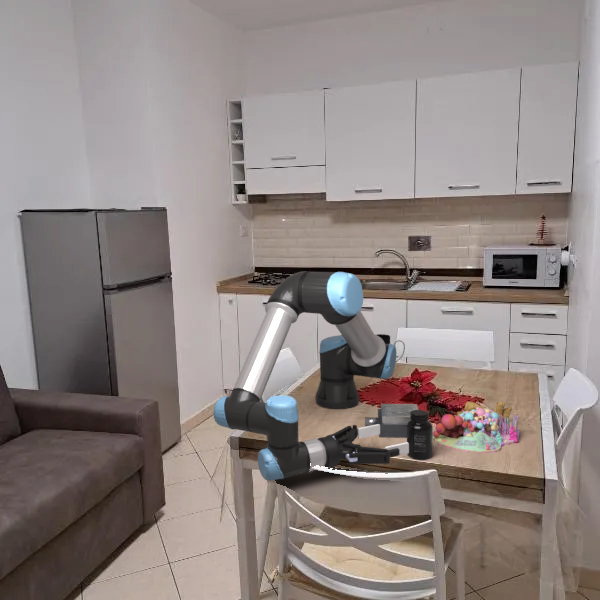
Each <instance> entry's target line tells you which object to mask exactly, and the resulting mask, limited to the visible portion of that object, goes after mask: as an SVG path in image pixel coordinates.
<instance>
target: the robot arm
mask: <svg viewBox="0 0 600 600" xmlns="http://www.w3.org/2000/svg"><path fill="white" fill-rule="evenodd" d="M363 303H364V291H363V285H362V282H361V281H360V279H359V277H357V276H356V275H355V274H353V273H351V272H350V273H349V272H344V271H337V272H335V271H333V272H332V271H307V270H306V271H299V272H295V273H293V274H291V275H289V276H288V277H286V278H285V279H284V280H283V281H282V282H280V283H279V285H277V287H275V289H274V290H273V292H272V293H271V294H270V295H269V298H268V300H267V302H266V303H265V304H266V305H265V307H264V310H265V312H266V314H265V316H264V318H263V320H262V322H261V325H260V327H259V330H258V332H257V334H256V336H255V338H254V339H253V343H252V345H251V347H250V350H249V352H248V353H247V354H248V355H247V356H246V359H245V361H244V363H243V366H242V367H241V371H240V373H239V375H238V377H237V379H236V382H235V384H234V387H233V389H232V390H231V393H230V395H227V396H220V397H219V399H218V400H217V401H216V402H215V403H214V404H215V405H214V407H213V420H214V421H215V423H216V424H217V425H218V426H220V427H223V428H227V429H231V430H236V431H237V430H238V431H244V432H250V433H253V434H259V435H263V436H266V439H267V440H266V441H267V444H266V445H267V447H264V448H262V449H260V450H259V451H258V456H257V466H258V470H259V473H260V474H261V477H262V478H263V479H264V480H265V481H268V482H269V481H276V480H283V479H286V478H290V477H293V476H298V475H301V474H302V475H303V474H307V473H309V471H310V470H311V468H312V467H314V466H316V465H319V466H320V467H321V466H325V467H330V468H335V467H337V466H339V464H340V462H341V461H342V460H348V464H349V465H350V466H353V465H359V464H360V465H363V464H364V465H371V464H372V465H377V464H379V465H387V464H390V462H391V460H390V459H391V458H394V457H398V456H403V455H408V453H409V443H408V442H407V441H406V442H402V443H397V444H392V445H388V446H384V448H382V447H381V448H378V447H368V446H361V444H358V443H353V442H355V440H356V439H357V438H358V439H363V438H364V439H365V438H369V437H374V436H375V437H376V436H379V434H380V425H379V424H376V425H371V426H366V427H365V426H362V427H358V426H357V424H353V425H348V426H345V427H343V428H341V429H340V430H337V431H336V432H334V433H332V434H328V435H326V436H323V437H318V438H312V439H311V438H310V439H306V440H302V441H299V417H300V416H299V412H298V402H297V400H296V398H294V397H293V396H291V395H286V394H284V395H273V396H271V397H268V399H266V402H262V401H261V399H262V396H263V394H264V392H265V390H266V387H267V385H268V383H269V380H270V377H271V375H272V372H273V369H274V367H275V365H276V362H277V360H278V358H279V355H280V352H281V351H282V347H283V345H284V343H285V341H286V339H287V336H288V333H289V331H290V328H291V326H292V324H295V323H296V322H297V320H298V319H299V316H300V315H301V314H303V313H306V314H316V315H317V314H319V315H321V316H322V317H323V319H324V320H325V321H326V322H327V323H329V324H330V325H332V326H335V327H336V329H337V330H338V331H339V333H340V335H339V334H338V335H333V336H328V337H326V338H324V339H322V340H321V341H320V344H319V368H320V369H319V372H320V373H319V374H320V375H319V378H320V381H319V385H318V388H317V391H316V394H315V403H316V404H317V405H318V406H319V407H322V408H326V409H334V410H335V409H336V410H337V409H338V410H340V409H341V410H343V409H349V408H353V407H355V406H357V405H358V404H359V403H360V394H359V391H358V389H357V385H356V382H355V378H354V377H355V376H356V377H366V378H372V379H379V380H384V379H385V380H388V379H390V378H392V377H393V374H394V371H395V367H396V363H397V362H396V361H397V347H396V344H395V345H394V343H393V344H391V342H390V343H389V344H385V343H384V341H383V340H382V339H381V338H380V337H379V336H377V334H375V333H374V332H373V329H372V328H371V326H370V324H369V323H368V321H367V319H366V317H365V316H364V314H363V312H362V311H361V309H362V307H363ZM310 463H311V466H310ZM309 469H310V470H309Z"/></svg>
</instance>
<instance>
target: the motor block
mask: <svg viewBox="0 0 600 600" xmlns="http://www.w3.org/2000/svg"><path fill="white" fill-rule="evenodd" d="M413 410H421V409H420V408H419V406H418V404H417V403H415V404H414V403H380V408H377V417H376V416H375V417H374V416H373V417H370V416H369V417H368V416H366V417H364V427H366V426H371V425H376V424H379V425H380V434H379V435H378V437H379V438H395V439H396V438H402V439H407V423H408V422H409V421H410V420H411V419H410V416H411V411H413Z"/></svg>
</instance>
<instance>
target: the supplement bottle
mask: <svg viewBox="0 0 600 600" xmlns="http://www.w3.org/2000/svg"><path fill="white" fill-rule="evenodd" d="M410 419H411V420H410V421H409V422H408V423H407V438H406V442H408V443H409V453H408V454H407V456H408V457H409V458H411V459H414V460H419V461H421V460H428V459H430V458H432V456H433V449H434V448H433V447H434V446H433V441H434V440H433V432H434V431H433V424H432V423H431V421H429V420H430V414H429V412H428V411H427V410H424V409H420V410H413V411H411V416H410Z"/></svg>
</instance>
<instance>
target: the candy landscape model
mask: <svg viewBox="0 0 600 600" xmlns="http://www.w3.org/2000/svg"><path fill="white" fill-rule="evenodd" d="M495 406H496V407H495V408H494V410H492V409H489V408H487V407H486V406H482V405H479V404H478V403H477V402H473V401H466V403H465V405H464V410H463V411H457V412H456V416H454V415H452V414H450V413H448V414H444V415H443V416H442V417H441V420H440V421H438V422H437V423H436V426H435V430H434V431H433V441H434V442H435V443H437V444H438V445H439V446H442V447H445V448H448V449H453V450H456V451H461V452H466V453H475V454H489V453H497V452H500V450H501V449H502V447H503V446H510V445H514V444H516V443H518V442H519V438H520V429H518V427H519V426H518V423H519V422H518V421H519V417H518V415H516V414H515V413H514V414H513V420H510V421H509V418H510V415H511V412H512V407H506V408H505V406H506V403H505V402H504V401H497V402H496V405H495Z"/></svg>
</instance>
